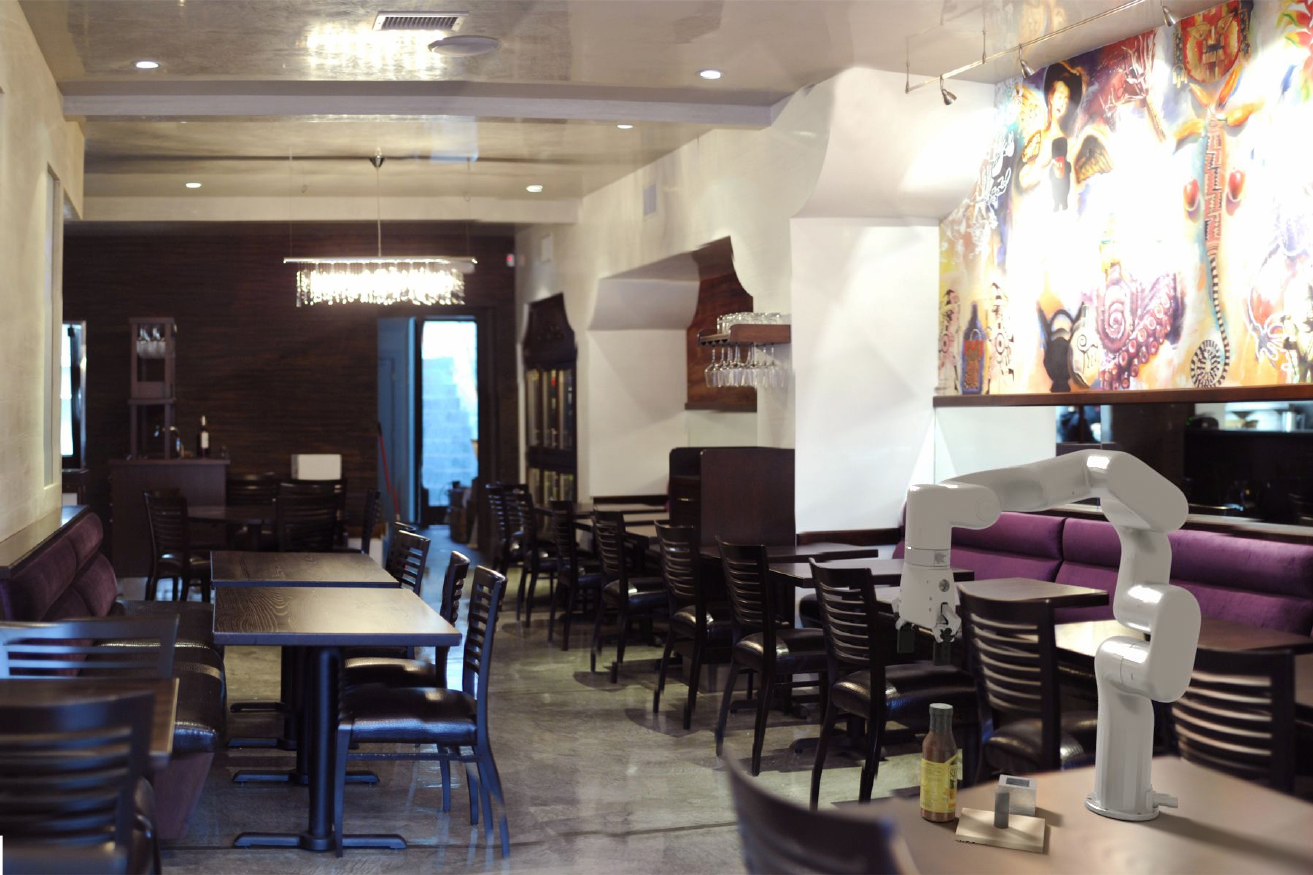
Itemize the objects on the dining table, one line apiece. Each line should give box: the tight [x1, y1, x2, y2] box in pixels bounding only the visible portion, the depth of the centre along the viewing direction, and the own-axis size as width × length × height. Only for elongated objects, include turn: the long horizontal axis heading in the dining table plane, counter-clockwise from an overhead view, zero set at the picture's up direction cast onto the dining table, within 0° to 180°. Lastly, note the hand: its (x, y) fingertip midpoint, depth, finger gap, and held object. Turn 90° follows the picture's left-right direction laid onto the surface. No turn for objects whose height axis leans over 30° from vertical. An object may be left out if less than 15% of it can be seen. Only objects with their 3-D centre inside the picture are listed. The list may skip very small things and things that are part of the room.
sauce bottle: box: [919, 702, 959, 823], centre depth 213 cm, size 6×6×20 cm
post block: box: [954, 789, 1046, 854], centre depth 206 cm, size 14×14×7 cm
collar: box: [997, 774, 1038, 818], centre depth 218 cm, size 6×6×5 cm
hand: (923, 658), depth 203 cm, fingers open, 9 cm apart
